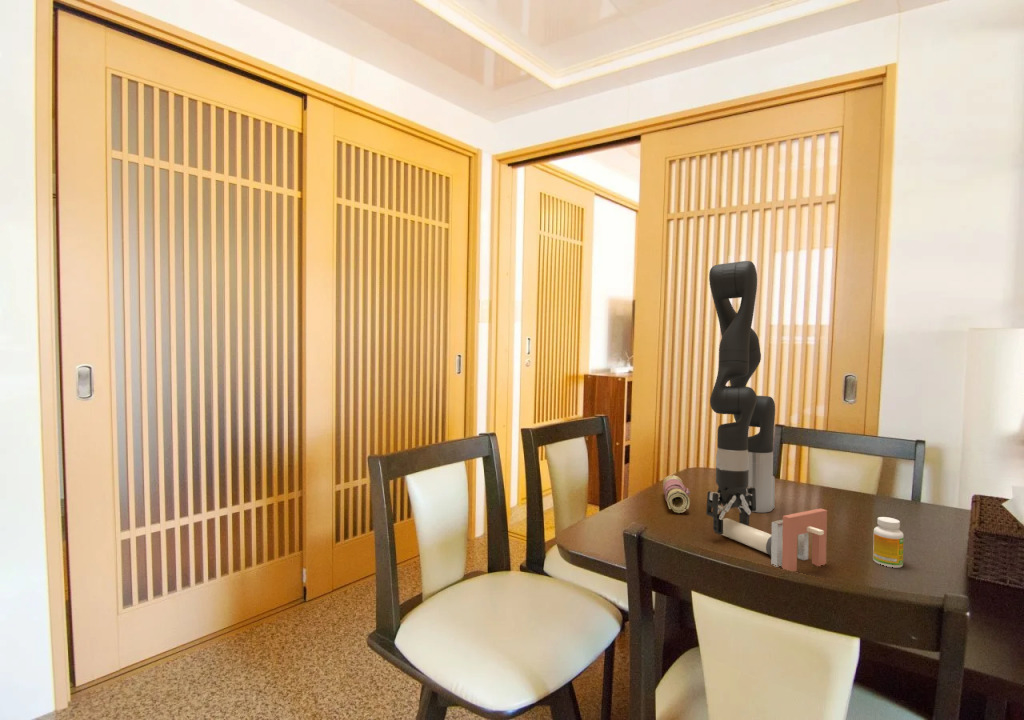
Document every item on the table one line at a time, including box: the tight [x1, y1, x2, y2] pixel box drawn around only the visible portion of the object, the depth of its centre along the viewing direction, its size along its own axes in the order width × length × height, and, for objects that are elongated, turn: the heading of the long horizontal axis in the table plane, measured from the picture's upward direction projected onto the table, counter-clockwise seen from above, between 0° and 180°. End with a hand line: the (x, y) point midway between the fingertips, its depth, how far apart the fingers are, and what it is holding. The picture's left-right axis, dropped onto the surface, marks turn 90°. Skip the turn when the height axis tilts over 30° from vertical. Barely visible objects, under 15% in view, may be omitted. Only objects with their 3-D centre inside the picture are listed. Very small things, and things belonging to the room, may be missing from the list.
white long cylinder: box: [721, 517, 783, 556], centre depth 125 cm, size 16×5×5 cm, turn 25°
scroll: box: [662, 474, 691, 514], centre depth 158 cm, size 8×8×20 cm
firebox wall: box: [781, 507, 828, 571], centre depth 111 cm, size 12×4×12 cm, turn 115°
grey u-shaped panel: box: [770, 519, 810, 568], centre depth 116 cm, size 10×2×10 cm, turn 115°
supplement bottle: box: [872, 516, 905, 569], centre depth 115 cm, size 5×5×10 cm
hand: (731, 531), depth 130 cm, fingers open, 8 cm apart
